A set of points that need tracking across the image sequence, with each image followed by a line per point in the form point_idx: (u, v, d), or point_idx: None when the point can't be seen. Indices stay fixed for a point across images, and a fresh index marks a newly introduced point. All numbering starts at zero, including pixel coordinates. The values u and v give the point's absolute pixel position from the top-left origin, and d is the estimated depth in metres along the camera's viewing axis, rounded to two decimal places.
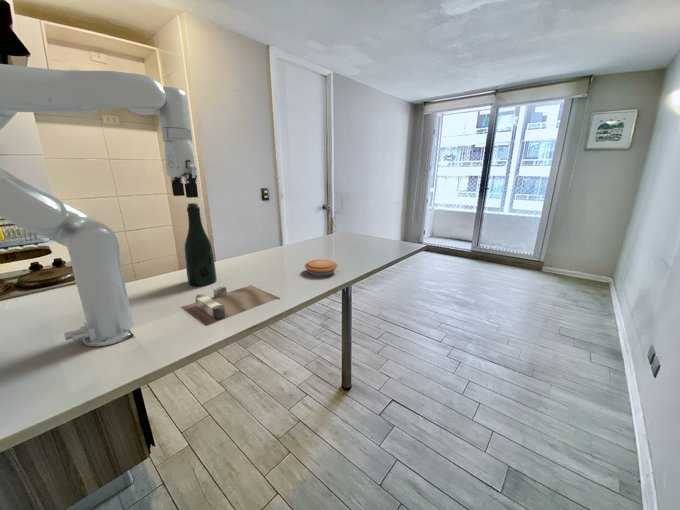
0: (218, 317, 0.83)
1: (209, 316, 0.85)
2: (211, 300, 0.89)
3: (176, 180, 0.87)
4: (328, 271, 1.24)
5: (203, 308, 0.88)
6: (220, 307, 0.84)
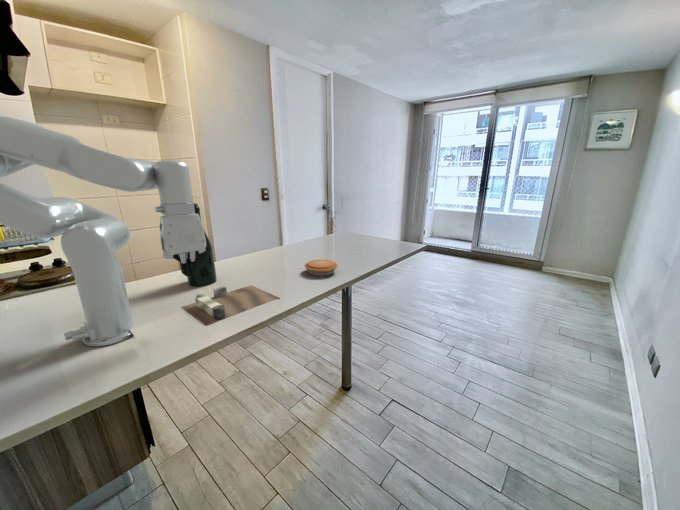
0: (218, 317, 0.83)
1: (209, 316, 0.85)
2: (211, 300, 0.89)
3: None
4: (328, 271, 1.24)
5: (203, 308, 0.88)
6: (220, 307, 0.84)
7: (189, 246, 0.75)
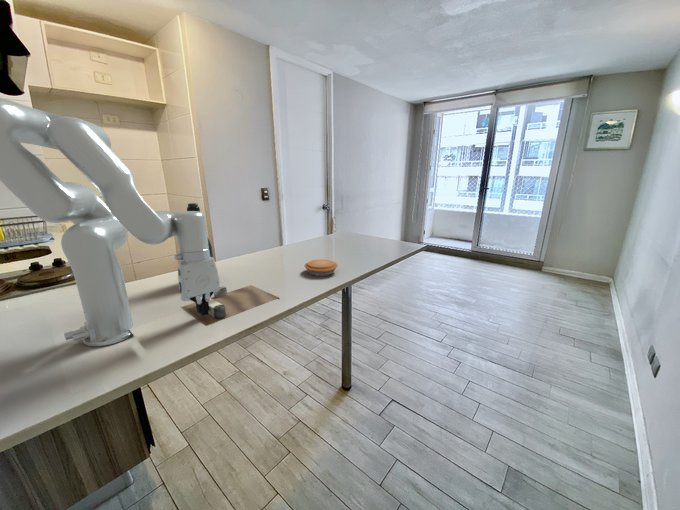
0: (219, 317, 0.83)
1: (209, 316, 0.85)
2: (211, 300, 0.89)
3: None
4: (328, 271, 1.24)
5: None
6: (221, 307, 0.84)
7: (205, 288, 0.80)
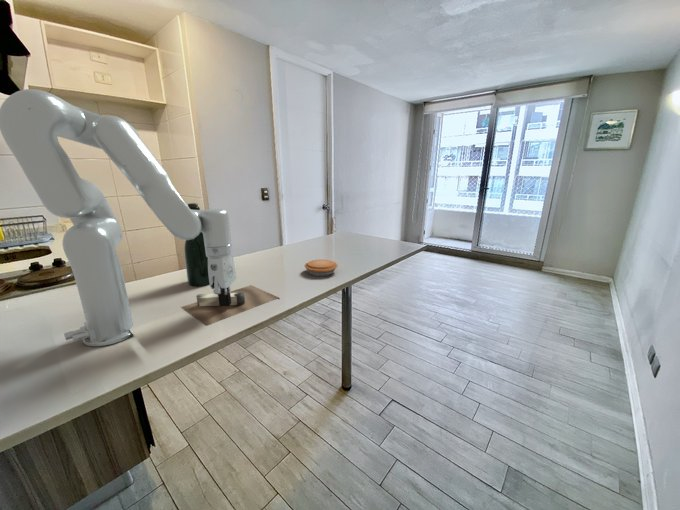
0: (243, 302, 0.93)
1: (209, 316, 0.85)
2: None
3: None
4: (328, 271, 1.24)
5: (216, 303, 0.92)
6: (241, 294, 0.94)
7: (231, 279, 0.88)
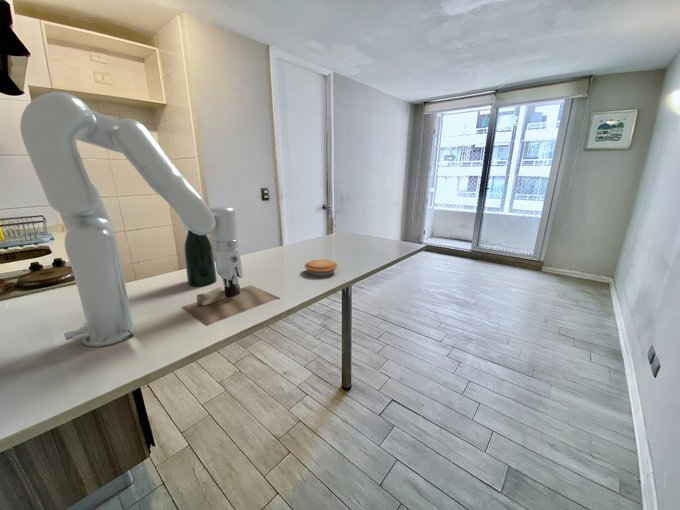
0: (239, 291, 1.02)
1: (209, 316, 0.85)
2: (216, 289, 0.97)
3: None
4: (328, 271, 1.24)
5: (218, 298, 0.95)
6: None
7: None
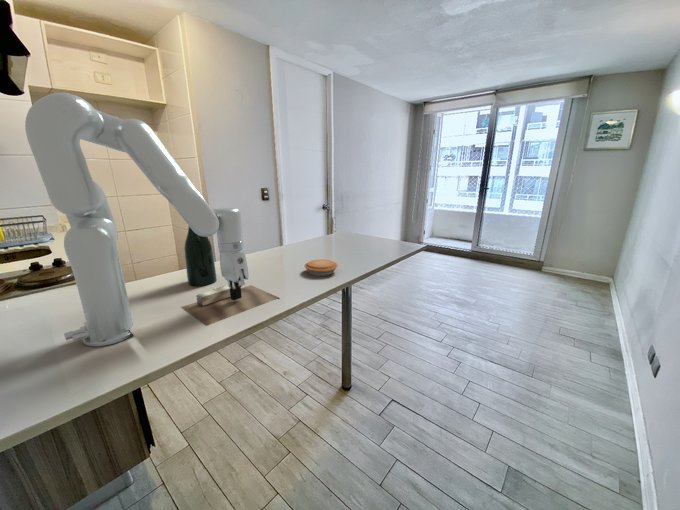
0: None
1: (209, 316, 0.85)
2: (216, 289, 0.97)
3: None
4: (328, 271, 1.24)
5: (218, 298, 0.95)
6: None
7: None
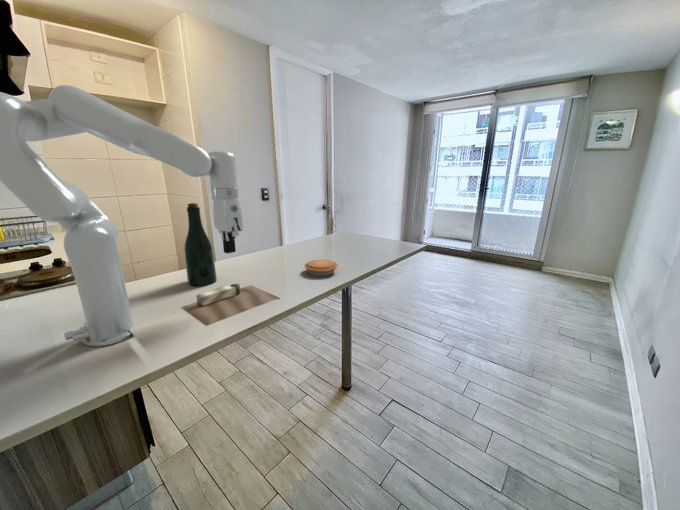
0: None
1: (209, 316, 0.85)
2: (216, 289, 0.97)
3: None
4: (328, 271, 1.24)
5: (218, 298, 0.95)
6: (235, 284, 1.02)
7: None
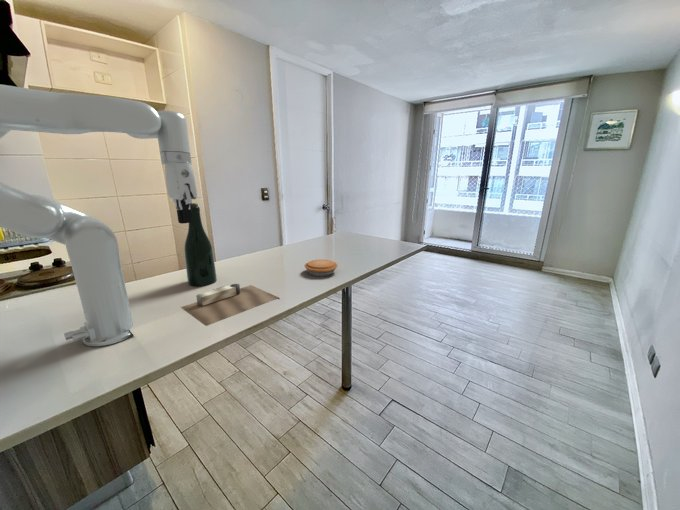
0: None
1: (209, 316, 0.85)
2: (216, 289, 0.97)
3: None
4: (328, 271, 1.24)
5: (218, 298, 0.95)
6: (235, 284, 1.02)
7: None
